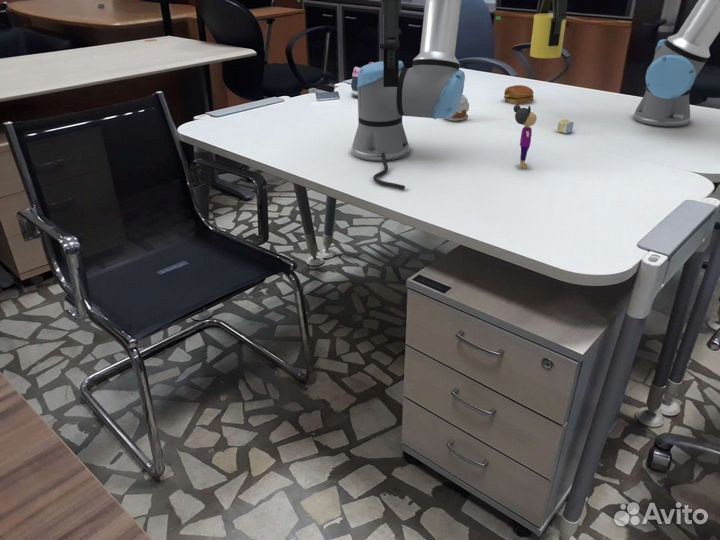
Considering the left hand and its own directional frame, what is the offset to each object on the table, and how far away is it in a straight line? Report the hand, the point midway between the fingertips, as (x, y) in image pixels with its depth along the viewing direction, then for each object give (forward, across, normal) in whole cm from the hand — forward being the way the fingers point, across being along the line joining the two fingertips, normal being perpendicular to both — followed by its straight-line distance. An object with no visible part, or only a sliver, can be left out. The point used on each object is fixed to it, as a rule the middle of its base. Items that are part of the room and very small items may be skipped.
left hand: (390, 78), depth 109 cm
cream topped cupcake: (+28, +67, -21) cm, 76 cm away
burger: (+28, +87, -44) cm, 102 cm away
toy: (+28, +25, -32) cm, 49 cm away
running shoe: (+28, +103, +3) cm, 107 cm away
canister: (+9, +67, -46) cm, 82 cm away
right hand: (+6, +67, -46) cm, 82 cm away
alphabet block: (+28, +53, -51) cm, 78 cm away
